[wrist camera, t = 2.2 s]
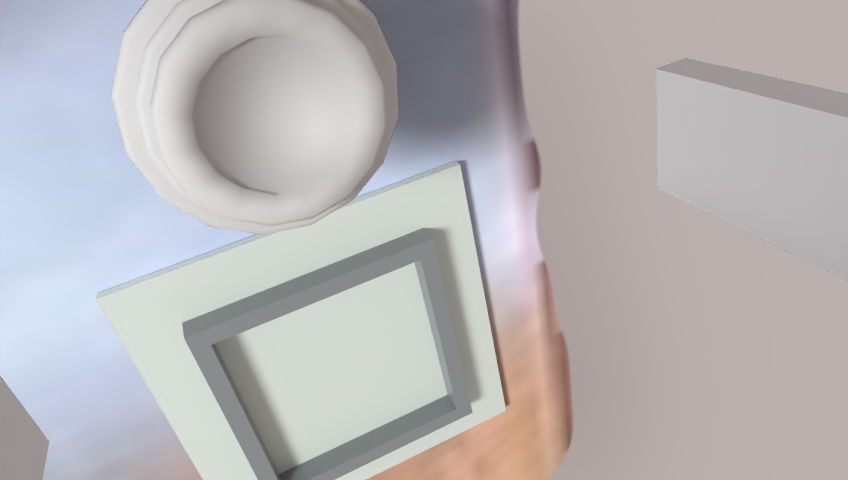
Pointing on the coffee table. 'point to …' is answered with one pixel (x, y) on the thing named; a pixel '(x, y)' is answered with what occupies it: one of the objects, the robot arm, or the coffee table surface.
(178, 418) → the square seat
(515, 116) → the coffee table surface
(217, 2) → the coffee cup
